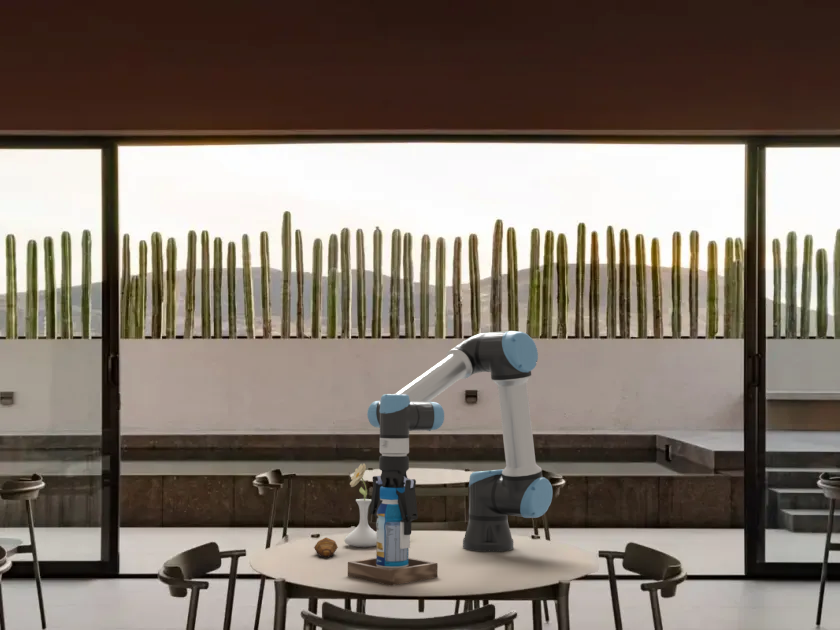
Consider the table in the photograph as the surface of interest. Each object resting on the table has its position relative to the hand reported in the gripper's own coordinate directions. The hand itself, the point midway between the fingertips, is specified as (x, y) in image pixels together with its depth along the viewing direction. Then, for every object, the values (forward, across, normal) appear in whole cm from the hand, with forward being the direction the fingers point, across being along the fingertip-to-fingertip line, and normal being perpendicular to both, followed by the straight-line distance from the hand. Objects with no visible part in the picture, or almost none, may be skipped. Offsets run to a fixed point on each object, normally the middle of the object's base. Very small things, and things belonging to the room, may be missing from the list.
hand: (393, 545), depth 244 cm
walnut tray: (+8, 0, 0) cm, 8 cm away
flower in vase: (+8, -40, +25) cm, 48 cm away
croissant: (+8, -36, +8) cm, 38 cm away
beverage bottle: (+5, 0, 0) cm, 5 cm away
